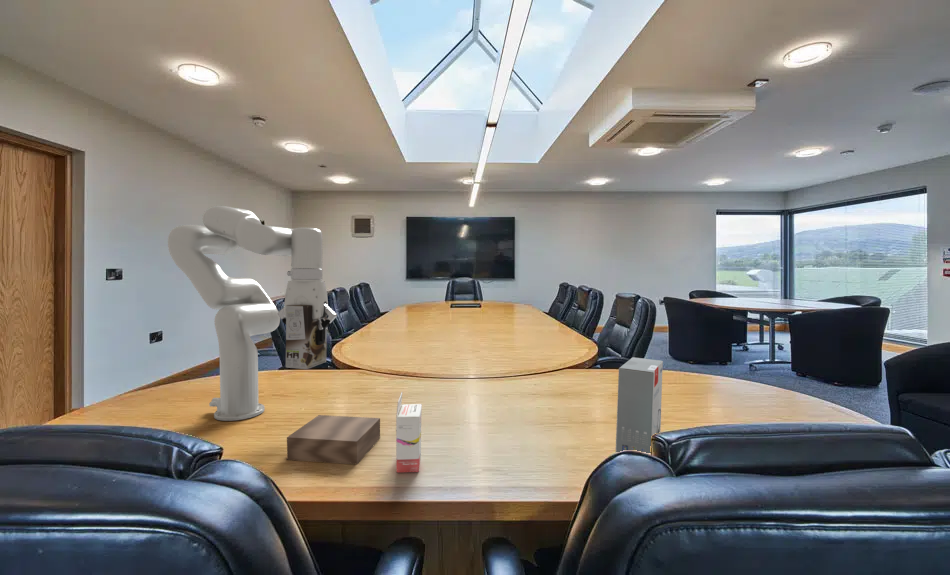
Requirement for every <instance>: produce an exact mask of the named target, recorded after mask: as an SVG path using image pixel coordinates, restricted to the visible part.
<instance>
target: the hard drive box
mask: <svg viewBox="0 0 950 575" xmlns="http://www.w3.org/2000/svg"><path fill="white" fill-rule="evenodd" d="M663 365H664V361H663V360H658V359H649V358H641V357H634V356H632V357H631V358H630V359H629V360H627V361H626V362H625V363H624V364H622V365H621V366H620V367H619V368H618V378H617V404H616V405H617V406H616V425H615V426H616V429H615V430H616V431H615V432H616V433H615V435H616V436H615V453H616V452H620V451H623V450H637V451H641V452H646V453H651V452H650V446H651V436H652V435H653V434H655V433H659V432H660V433H661V427H662V425H661V424H662V393H663V392H662V391H663Z"/></svg>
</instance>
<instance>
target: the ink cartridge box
mask: <svg viewBox="0 0 950 575" xmlns="http://www.w3.org/2000/svg"><path fill="white" fill-rule="evenodd" d="M402 400H403V391H401V393H400V396H399V397H398V401H397V406H396V417H395V420H396V421H395V422H396V423H395V425H396V429H395V430H396V431H395V432H396V433H395V436H396V437H395V438H396V442H395V443H396V445H395V446H396V453H395V454H396V463H395V464H396V465H395V466H396V471H395V472H396V473H398V474H399V473H401V474H403V473H419V472H420V466H421V464H420V463H421V456H422V416H423V415H422V414H423V413H422V412H423V411H422V410H423V409H422V408H423V405H422V403H411V404H409V403H408V404H406V403H405V404H402Z"/></svg>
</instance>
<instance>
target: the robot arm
mask: <svg viewBox="0 0 950 575" xmlns="http://www.w3.org/2000/svg"><path fill="white" fill-rule="evenodd" d="M202 223H203V225H199V224H198V225H197V224H184V225H178V226H175V227H174V228H172V229H171V230H170V232H169V233H168V236H167V247H168V252H169V255H170V257H171V259H172V261H173V263H175V264H176V266H177V267H178V268H179V270H180V271H181V272H183V274H184V275H185V276H186V277H187V278H188V280H189V281H190V282H191V284H192V285H193V286H194V288H195V289H196V291H197V292H198V294H199V296H200V297H201V299H202V300H203V301H204V303H205V304H206V305H207V306H208V307H209V308H210V309H212V310H215V311H217V310H218V311H217V312H216V314H215V316H214V328H215V332H216V336H217V340H218V352H219V354H218V355H219V389H220V390H219V391H220V392H219V393H220V394H219V396H220V397H213V398H212V399H211V401H210V402H209V407H211V408H212V407H215V408H216V411H215V412H214V413H213V418H214V419H215V420H217V421H224V422H233V421H235V422H236V421H241V420H246V419H251V418H254V417H257V416H260V414H263V413H264V412H265V410H266V409H265V405H264V404H262V403H259V358H258V357H259V355H258V353H259V352H258V348H257V346H256V344H255V342H253V340H252V338H251V337H253V336H258V335H264V334H269V333H272V332H273V331H276V330H277V328H278V327H279V326H280V322H281V321H282V323H283V324H284V325H285V326H286V305H312V319H313V320H316V325H317V327H318V330H316V345H321V344H324V341H325V329H326V328H327V329H328V327H329V326H330V325H331V324H332V323H333V321H334V320H335V319H336V318H337V317H338V314H337V313H336V312H335V311H334V310H333V309H332V308H331V307H330V306H329V301H328V300H329V299H328V292H327V291H328V290H327V285H326V282H325V281H324V280H323V271H324V270H323V260H324V259H323V248H324V247H323V245H324V244H323V242H324V241H323V240H324V239H323V232H322V230H320V229H319V228H315V227H295V228H290V227H281V226H277V225H276V226H275V225H274V226H273V225H266V224H262V222H261V220H260V218H258V217H257V215H256V214H255V213H254V212H252V211H251V210H248V209H245V208H238V207H232V206H226V205H214V206H211V207H208V208H207V209H206V210H205V211H204V213H203V215H202ZM239 248H241V249H243V250H246V251H250V252H252V253H253V254H254V253H255V254H257V255H262V256H280V257H291V265H290V266H291V267H290V270H288V271H286V272H287V273H286V274H287V277H290V280H288V281H287V284H286V289H285V293H284V294H285V296H284V306H283V307H282V308H281V309H280V310H278V308H277V306H276V305H275V304H274V302H273V300H272V299H271V298H270V296H269V295H268V294H267V292H266V291H265V290H264V289H263V287H262V286H261V284H260V283H258V282H257V281H256V280H255V279H253V278H250V277H241V276H240V277H234V276H233V277H232V276H228V275H227V274H226V273H225V272H224V270H223V269H222V268H221V266H220V265H219V264H218V263H217V262H216V261H215V260H213V259H212V258H210V257H208V256H207V255H218V256H219V255H224V256H225V255H228V254H229V255H230V254H232V253H233V252H234V251H236V250H238V249H239ZM325 317H327V319H326V320H325V319H324V318H325Z"/></svg>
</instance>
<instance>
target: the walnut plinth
mask: <svg viewBox="0 0 950 575" xmlns="http://www.w3.org/2000/svg"><path fill="white" fill-rule="evenodd" d="M380 439H381V418H380V417H367V416H366V417H365V416H364V417H362V416H347V415H346V416H345V415H328V414H327V415H326V414H324V415H323V414H319V415H317V416H316V417H314V418H313V419H311V420H310V421H308V422H307V423H305V424H304V425H303V426H301V427H300V428H298V429H297V430H295V431H294V432H293V433H291V434H290V435H288V436H287V437H286V458H287V460H288V461H300V462H317V463H331V464H332V463H333V464H346V465H347V464H348V465H358V464H359V463H360V462H361V461H362V459H363V458H364V457H365V456H366V455H367V454H368V452H369V451H370V450H371V449H372V448H373V447H374V446H375V444H377V442H378V441H380ZM373 445H374V446H373Z"/></svg>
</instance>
